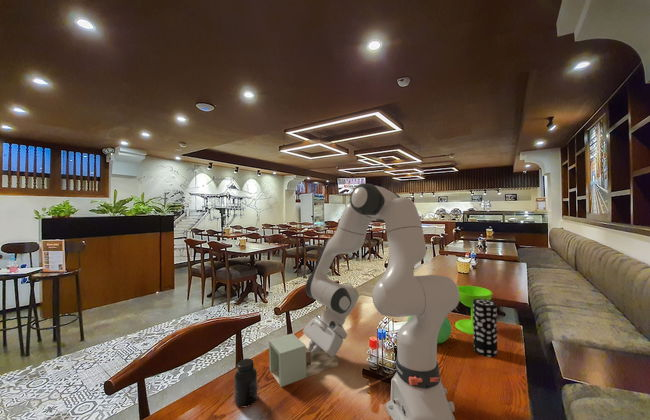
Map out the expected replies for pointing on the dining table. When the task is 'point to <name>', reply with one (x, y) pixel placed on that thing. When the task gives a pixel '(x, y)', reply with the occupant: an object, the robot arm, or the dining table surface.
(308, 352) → the block
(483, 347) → the white-spotted black cylinder
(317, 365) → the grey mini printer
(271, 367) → the pale sage box
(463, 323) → the wineglass
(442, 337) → the gravy boat
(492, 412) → the dining table surface
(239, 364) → the supplement bottle
